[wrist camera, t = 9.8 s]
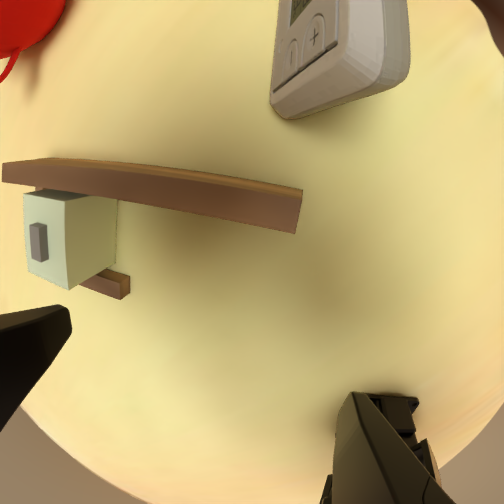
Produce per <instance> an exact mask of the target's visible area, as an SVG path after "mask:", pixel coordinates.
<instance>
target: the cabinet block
mask: <svg viewBox="0 0 504 504" xmlns="http://www.w3.org/2000/svg"><path fill="white" fill-rule="evenodd" d="M117 205H118V200H117V199H111V198H105V197H99V196H93V195H87V194H81V193H75V192H68V191H62V190H55V189H44V190H39V191H34V192H29V193H25V194H23V207H24V233H25V246H26V257H27V266H28V272H30V273H32V274H34V275H36V276H38V277H41V278H43V279H45V280H47V281H49V282H51V283H53V284H55V285H58V286H60V287H62V288H64V289H67V290H70V289H72V288H73V287H75V286H77V285H78V284H80V283H82V282H83V281H85V280H87V279H89V278H90V277H92V276H94V275H95V274H97V273H99V272H101V271H102V270H104V269H106V268H108V267H109V266H111V265H113V264H115V263H116V223H117Z"/></svg>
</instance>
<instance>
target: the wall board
mask: <svg viewBox="0 0 504 504" xmlns="http://www.w3.org/2000/svg"><path fill="white" fill-rule="evenodd" d="M2 182H6V183H13V184H20V185H28V186H35V187H36V189H35V191H39V190H44V189H55V190H62V191H68V192H75V193H81V194H87V195H93V196H99V197H105V198H111V199H117V200H123V201H129V202H135V203H140V204H146V205H152V206H157V207H163V208H168V209H173V210H179V211H184V212H189V213H195V214H200V215H205V216H210V217H215V218H220V219H225V220H230V221H235V222H240V223H245V224H250V225H255V226H260V227H265V228H269V229H274V230H279V231H284V232H288V233H293V234H295V231H296V227H297V222H298V217H299V212H300V207H301V202H302V194H303V190H300V189H296V188H291V187H286V186H281V185H276V184H270V183H265V182H260V181H254V180H249V179H243V178H237V177H231V176H225V175H219V174H212V173H206V172H199V171H192V170H184V169H177V168H169V167H160V166H152V165H142V164H133V163H122V162H110V161H97V160H82V159H62V158H42V159H35V160H25V161H16V162H7V163H3V164H2ZM79 285H81V286H84V287H86V288H89V289H92V290H94V291H97V292H99V293H102V294H105V295H108V296H110V297H113V298H116V299H119V300H121V299H122V298H124V297H125V296H126V295H127V294H129V293H130V276H126V275H123V274H120V273H117V272H114V271H110V270H107V269H104V270H102V271H101V272H99V273H97V274H95V275H94V276H92V277H90V278H89V279H87V280H85V281H83V282H82V283H80V284H79Z"/></svg>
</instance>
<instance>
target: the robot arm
mask: <svg viewBox="0 0 504 504" xmlns="http://www.w3.org/2000/svg"><path fill="white" fill-rule="evenodd" d="M71 333H72V325H71V319H70V313H69V310H68V309H67V308H66V307H64V306H62V305H59V304H58V305H52V306H46V307H41V308H35V309H30V310H24V311H19V312H13V313H7V314H2V315H0V432H1V431H2V429H3V427H4V426H5V425H6V423H7V422H8V420H9V419H10V418H11V416H12V415H13V414H14V412H15V411H16V409H17V408H18V407H19V405H20V404H21V403H22V401H23V400H24V399H25V397H26V396H27V395H28V393H29V392H30V391H31V389H32V388H33V387H34V386H35V384H36V383H37V382H38V380H39V379H40V378H41V377H42V375H43V374H44V373H45V372H46V370H47V369H48V368H49V366H50V365H51V364H52V362H53V361H54V359H55V358H56V356H57V355H58V353H59V352H60V350H61V349H62V347H63V346H64V344H65V343H66V341H67V340H68V338H69V337H70V335H71ZM418 405H419V400H418V399H417V398H404V397H390V396H378V395H368V394H365V393H362V392H354V391H353V392H350V393H349V395H348V396H347V398H346V400H345V402H344V404H343V406H342V407H341V409H340V411H339V415H338V422H337V432H336V433H335V438H336V440H335V449H334V457H333V474H331V475H328V477H327V480H326V483H325V487H324V490H323V494H322V497H321V500H320V504H456V503H455V502H454V501H453V500H452V499H451V498H450V497H449V496H448V495H447V494H446V493H445V492H444V490H443V489H442V487H441V479H440V474H439V470H438V467H437V463H436V460H435V457H434V455H433V452H432V450H431V447H430V445H429V443H428V441H427V438H426V439H424V440H422V441H420V443H418V442H417V439H416V435H415V432H416V428H415V424H414V421H413V418H412V414H413V412H414V411H415V409H416V408H417V407H418Z"/></svg>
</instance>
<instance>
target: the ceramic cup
mask: <svg viewBox="0 0 504 504" xmlns="http://www.w3.org/2000/svg"><path fill="white" fill-rule="evenodd" d="M65 4H66V0H0V59H3V58H7V57H10V56H11V57H10V60H9V62H8V64H7V66H6V68H5V70H4V71H3V73H2V74H1V75H0V83H1V82H2V81H3V80H4V79H5V78H6V77H7V76H8V74H9V73H10V71H11V70H12V68H13V66H14V64H15V62H16V60H17V58H18V56H19V53H20V52H21V51H23V50H25V49H27V48H28V47H30V46H32V45H33V44H35V43H38V42H39V41H41V40H42V39H43V38H44V37H46V35H47V34H48V33H49V32H50V31H51V30H52V29H53V27H54V26H55V24H56V23H57V21H58V20H59V18H60V16H61V14H62V12H63V10H64V7H65Z"/></svg>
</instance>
